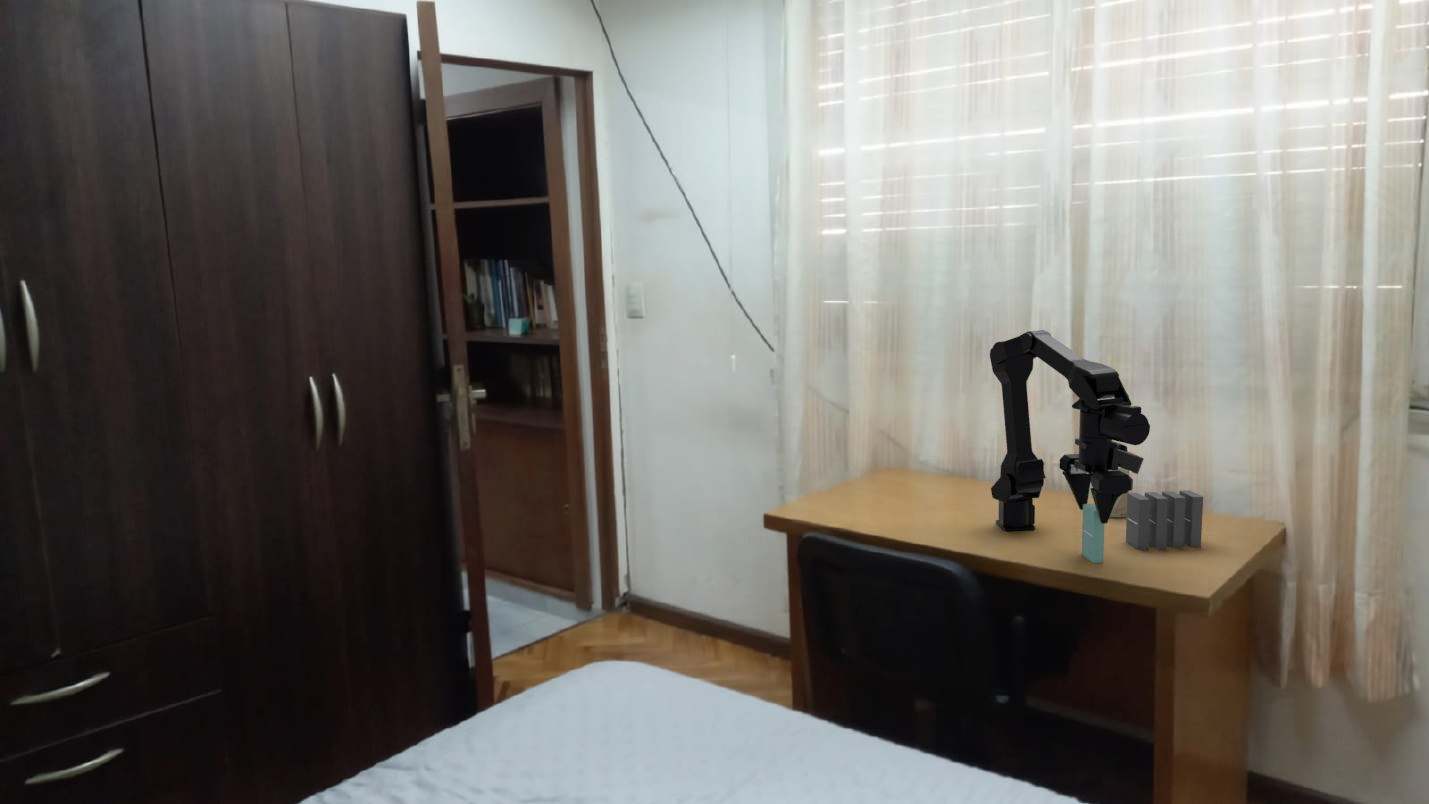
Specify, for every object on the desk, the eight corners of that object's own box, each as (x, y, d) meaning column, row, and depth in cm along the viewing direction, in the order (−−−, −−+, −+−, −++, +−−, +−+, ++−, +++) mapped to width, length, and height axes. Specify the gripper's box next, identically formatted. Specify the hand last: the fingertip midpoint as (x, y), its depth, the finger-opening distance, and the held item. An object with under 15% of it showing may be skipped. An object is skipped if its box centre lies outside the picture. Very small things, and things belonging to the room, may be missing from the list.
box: (1128, 518, 206) (1130, 468, 204) (1107, 517, 207) (1108, 467, 205) (1123, 511, 211) (1124, 462, 209) (1102, 511, 212) (1104, 462, 210)
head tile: (1092, 562, 179) (1094, 511, 177) (1081, 554, 184) (1082, 504, 182) (1103, 562, 179) (1105, 510, 177) (1092, 553, 184) (1093, 503, 182)
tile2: (1137, 549, 185) (1139, 499, 184) (1125, 541, 190) (1127, 493, 189) (1148, 549, 185) (1149, 499, 184) (1135, 541, 190) (1137, 492, 189)
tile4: (1173, 547, 186) (1175, 498, 184) (1160, 540, 191) (1161, 491, 189) (1183, 547, 186) (1185, 497, 184) (1170, 539, 191) (1172, 491, 189)
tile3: (1155, 548, 185) (1157, 498, 184) (1142, 541, 190) (1144, 492, 189) (1165, 548, 186) (1167, 498, 184) (1153, 540, 190) (1155, 491, 189)
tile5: (1190, 547, 186) (1192, 497, 184) (1177, 539, 191) (1179, 490, 189) (1201, 546, 186) (1203, 496, 184) (1187, 538, 191) (1189, 490, 189)
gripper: (1163, 443, 169) (1159, 528, 171) (1115, 424, 187) (1112, 501, 190) (1101, 446, 168) (1098, 531, 171) (1059, 426, 187) (1057, 503, 189)
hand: (1093, 516), depth 180 cm, fingers open, 9 cm apart
